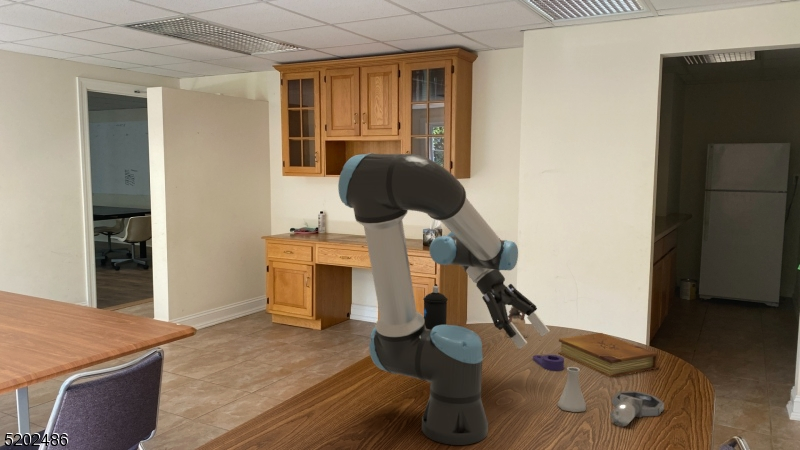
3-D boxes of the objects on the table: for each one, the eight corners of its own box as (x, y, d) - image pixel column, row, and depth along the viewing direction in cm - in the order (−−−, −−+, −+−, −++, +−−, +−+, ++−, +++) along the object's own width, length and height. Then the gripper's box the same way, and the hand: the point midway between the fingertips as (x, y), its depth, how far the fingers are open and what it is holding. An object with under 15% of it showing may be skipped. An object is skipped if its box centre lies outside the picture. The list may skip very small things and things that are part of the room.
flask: (583, 402, 150) (585, 364, 149) (589, 413, 143) (591, 374, 142) (554, 400, 151) (556, 363, 150) (559, 412, 143) (561, 373, 142)
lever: (568, 370, 174) (568, 360, 174) (550, 373, 171) (551, 362, 171) (543, 357, 185) (543, 348, 185) (527, 360, 182) (527, 350, 182)
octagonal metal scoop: (644, 433, 132) (646, 414, 132) (595, 419, 139) (596, 401, 139) (667, 405, 148) (668, 388, 148) (621, 394, 155) (622, 378, 155)
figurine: (514, 332, 212) (515, 300, 211) (530, 336, 207) (531, 304, 206) (502, 335, 208) (503, 303, 207) (517, 340, 202) (519, 306, 201)
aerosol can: (450, 343, 198) (452, 286, 196) (439, 349, 191) (440, 290, 189) (429, 339, 202) (431, 283, 200) (418, 345, 195) (419, 287, 193)
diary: (657, 371, 176) (658, 352, 175) (610, 379, 168) (611, 360, 167) (601, 348, 196) (602, 331, 196) (557, 355, 188) (558, 338, 188)
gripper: (499, 277, 171) (544, 336, 163) (453, 292, 151) (503, 360, 144) (515, 261, 167) (563, 321, 160) (471, 274, 148) (523, 343, 140)
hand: (535, 339), depth 152 cm, fingers open, 13 cm apart
